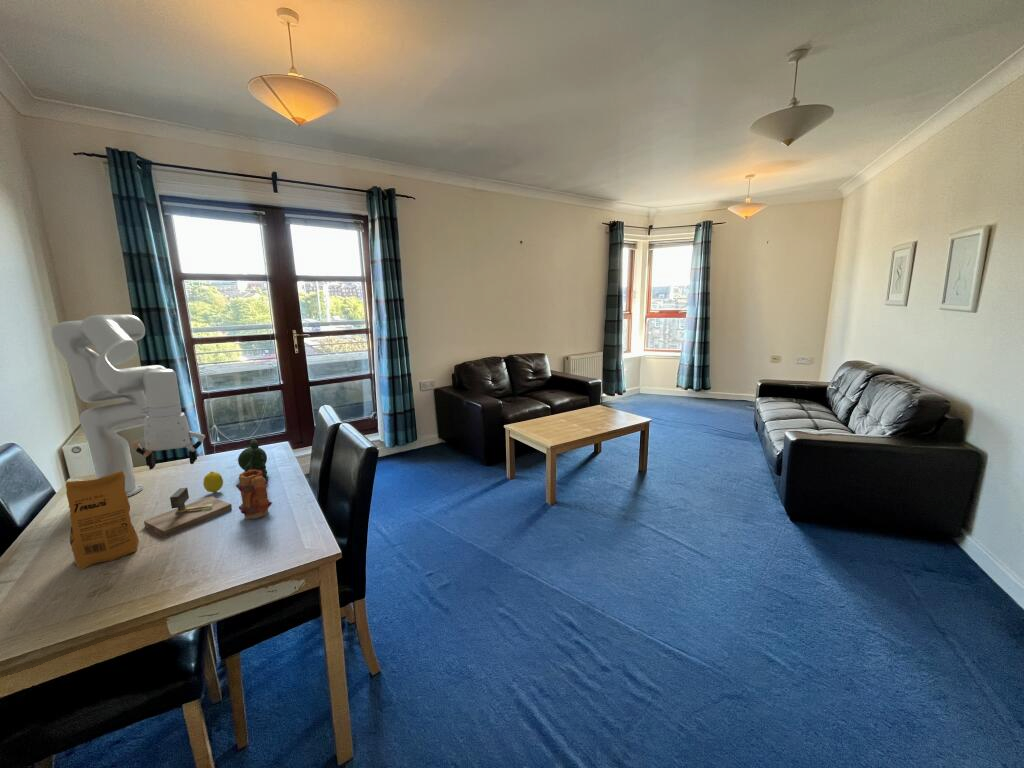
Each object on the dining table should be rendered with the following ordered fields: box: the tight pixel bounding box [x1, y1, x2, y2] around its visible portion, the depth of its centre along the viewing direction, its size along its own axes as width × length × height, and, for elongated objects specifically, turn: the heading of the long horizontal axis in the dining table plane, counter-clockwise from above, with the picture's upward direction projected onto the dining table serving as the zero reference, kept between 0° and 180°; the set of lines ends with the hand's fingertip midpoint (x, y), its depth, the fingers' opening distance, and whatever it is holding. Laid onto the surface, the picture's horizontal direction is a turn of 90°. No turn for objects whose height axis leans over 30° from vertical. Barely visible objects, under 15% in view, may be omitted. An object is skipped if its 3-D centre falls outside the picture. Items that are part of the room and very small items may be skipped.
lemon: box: [202, 471, 224, 494], centre depth 142 cm, size 6×6×8 cm
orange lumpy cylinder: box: [235, 470, 273, 520], centre depth 125 cm, size 15×8×15 cm, turn 47°
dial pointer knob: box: [169, 487, 213, 513], centre depth 126 cm, size 9×6×6 cm
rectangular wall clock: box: [143, 495, 233, 538], centre depth 126 cm, size 12×18×2 cm, turn 152°
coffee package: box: [65, 471, 140, 569], centre depth 106 cm, size 10×12×22 cm
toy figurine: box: [237, 438, 269, 483], centre depth 153 cm, size 9×19×25 cm
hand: (173, 465), depth 123 cm, fingers open, 9 cm apart
